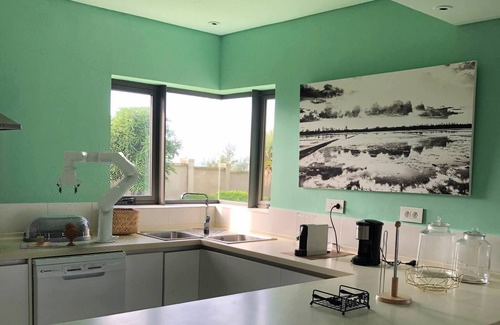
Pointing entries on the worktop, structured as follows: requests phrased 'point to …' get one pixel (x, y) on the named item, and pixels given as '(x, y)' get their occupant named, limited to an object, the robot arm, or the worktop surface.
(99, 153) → the robot arm
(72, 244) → the ice cream bowl
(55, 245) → the pale grey flat board
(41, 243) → the walnut lid
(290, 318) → the worktop surface
